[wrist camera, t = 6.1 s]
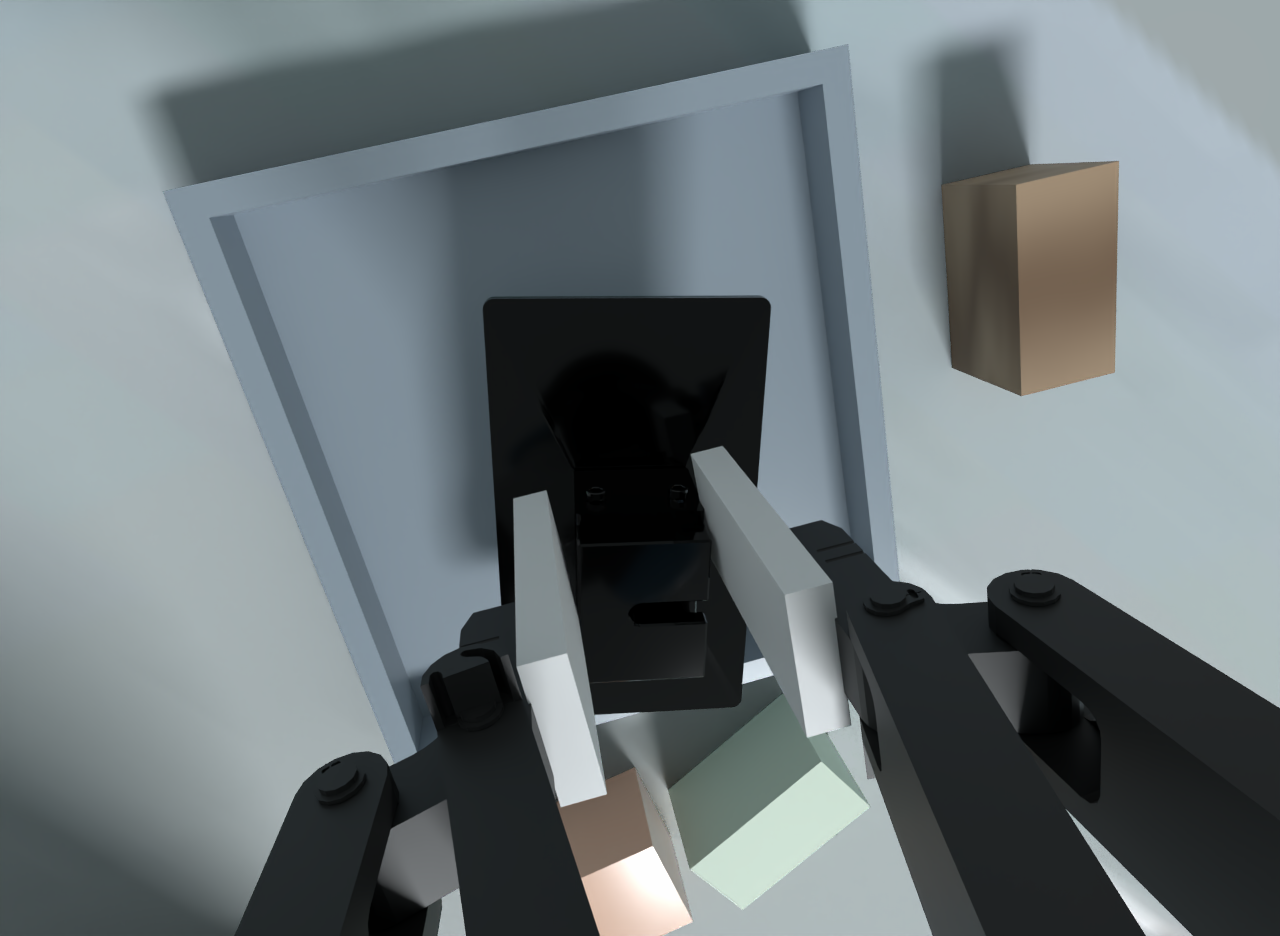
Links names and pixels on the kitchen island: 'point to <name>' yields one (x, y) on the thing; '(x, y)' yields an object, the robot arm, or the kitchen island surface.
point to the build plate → (630, 474)
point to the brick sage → (763, 804)
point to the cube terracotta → (627, 860)
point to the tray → (534, 266)
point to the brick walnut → (1033, 274)
